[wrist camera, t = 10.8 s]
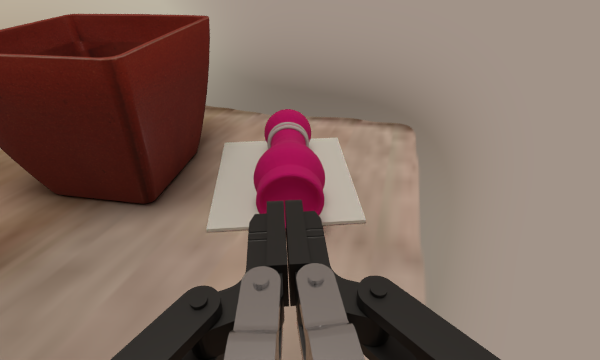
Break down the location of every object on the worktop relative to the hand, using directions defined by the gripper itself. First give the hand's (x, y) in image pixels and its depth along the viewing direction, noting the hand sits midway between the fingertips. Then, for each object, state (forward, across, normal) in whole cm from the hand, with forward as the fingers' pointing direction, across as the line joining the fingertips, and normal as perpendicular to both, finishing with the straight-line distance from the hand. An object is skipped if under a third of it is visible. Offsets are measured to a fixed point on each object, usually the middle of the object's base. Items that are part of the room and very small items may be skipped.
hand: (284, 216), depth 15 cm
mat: (+24, 0, +14) cm, 28 cm away
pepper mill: (+13, -1, +10) cm, 17 cm away
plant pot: (+28, +19, +15) cm, 36 cm away
